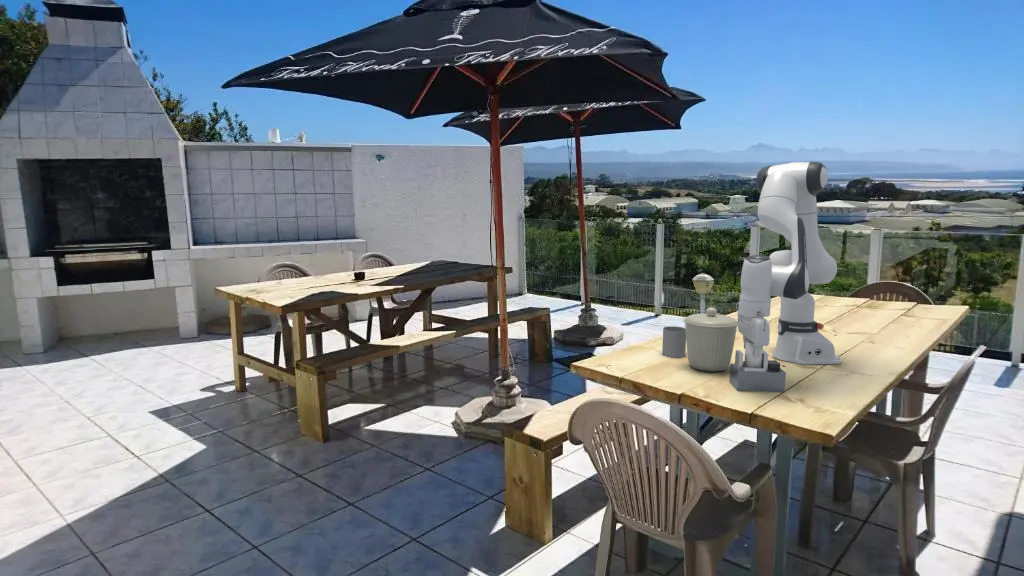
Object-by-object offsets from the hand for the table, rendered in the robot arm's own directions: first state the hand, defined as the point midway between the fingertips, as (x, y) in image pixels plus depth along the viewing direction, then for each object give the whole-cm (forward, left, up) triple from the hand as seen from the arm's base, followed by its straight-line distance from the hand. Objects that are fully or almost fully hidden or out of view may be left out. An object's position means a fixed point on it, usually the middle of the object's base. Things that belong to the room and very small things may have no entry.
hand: (751, 353), depth 186 cm
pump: (-1, 0, -5) cm, 5 cm away
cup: (+17, -36, -11) cm, 41 cm away
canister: (+8, -20, -11) cm, 24 cm away
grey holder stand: (-2, 0, -11) cm, 11 cm away
